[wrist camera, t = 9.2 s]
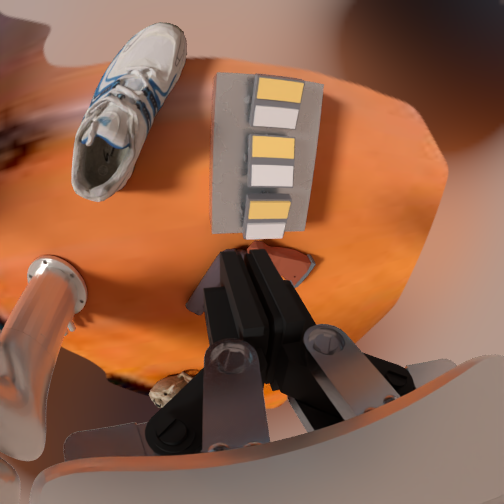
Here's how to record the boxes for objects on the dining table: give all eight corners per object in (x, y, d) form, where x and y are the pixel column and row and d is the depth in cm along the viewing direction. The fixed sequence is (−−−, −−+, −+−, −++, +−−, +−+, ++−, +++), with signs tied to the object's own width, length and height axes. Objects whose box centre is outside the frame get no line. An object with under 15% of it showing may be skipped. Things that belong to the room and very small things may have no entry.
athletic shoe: (201, 36, 25) (172, 2, 14) (151, 197, 35) (110, 233, 25) (133, 28, 24) (85, 4, 13) (93, 180, 34) (42, 208, 23)
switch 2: (289, 186, 30) (294, 188, 28) (247, 186, 29) (249, 187, 27) (291, 137, 28) (296, 136, 26) (248, 134, 27) (251, 133, 26)
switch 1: (292, 126, 27) (296, 130, 26) (248, 122, 26) (251, 127, 25) (301, 79, 23) (306, 81, 22) (255, 73, 22) (258, 75, 21)
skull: (156, 380, 47) (158, 421, 46) (233, 372, 58) (231, 409, 57) (144, 366, 54) (146, 403, 53) (213, 361, 65) (212, 396, 64)
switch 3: (280, 231, 34) (283, 239, 33) (242, 232, 33) (244, 240, 32) (289, 193, 30) (292, 201, 29) (246, 193, 29) (249, 200, 28)
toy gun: (308, 250, 46) (231, 219, 38) (320, 272, 42) (238, 242, 34) (252, 313, 54) (182, 297, 47) (258, 335, 50) (184, 322, 43)
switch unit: (291, 212, 41) (308, 234, 35) (209, 214, 38) (212, 237, 32) (305, 86, 31) (329, 84, 25) (213, 77, 28) (217, 71, 23)
